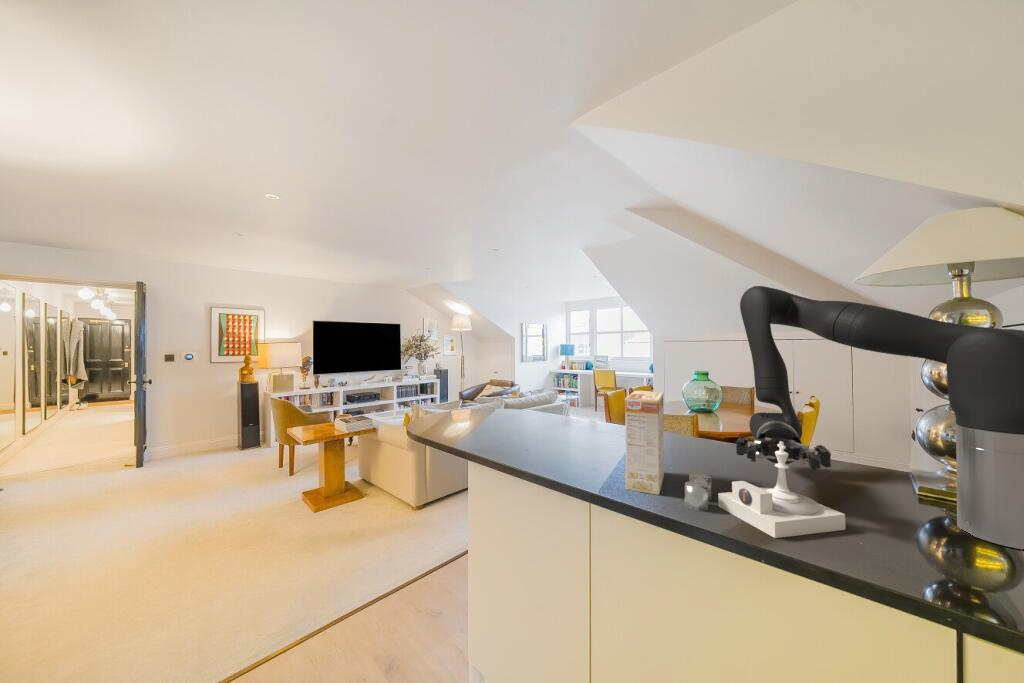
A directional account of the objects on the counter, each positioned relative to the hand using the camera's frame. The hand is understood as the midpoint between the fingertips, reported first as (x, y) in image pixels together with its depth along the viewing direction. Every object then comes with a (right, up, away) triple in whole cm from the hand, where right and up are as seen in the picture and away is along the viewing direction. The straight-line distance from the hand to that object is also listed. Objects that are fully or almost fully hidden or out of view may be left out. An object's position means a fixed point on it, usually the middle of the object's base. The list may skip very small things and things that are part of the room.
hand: (782, 460), depth 66 cm
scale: (0, -11, +1) cm, 11 cm away
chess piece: (+1, -7, +2) cm, 8 cm away
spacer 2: (-12, -11, +6) cm, 17 cm away
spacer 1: (-9, -11, +10) cm, 18 cm away
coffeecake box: (-17, -11, +19) cm, 28 cm away
